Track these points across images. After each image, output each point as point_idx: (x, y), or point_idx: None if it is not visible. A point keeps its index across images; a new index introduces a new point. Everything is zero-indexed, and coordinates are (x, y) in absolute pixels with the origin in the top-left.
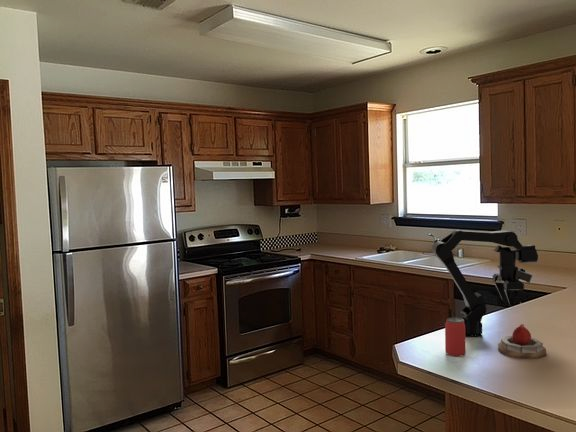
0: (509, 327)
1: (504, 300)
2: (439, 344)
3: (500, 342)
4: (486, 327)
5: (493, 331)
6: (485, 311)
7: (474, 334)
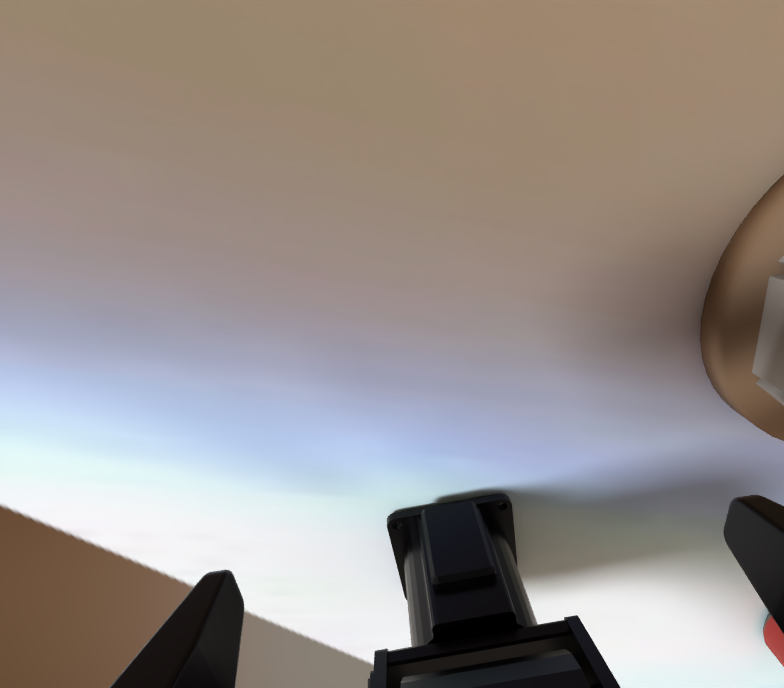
0: (171, 265)
1: (233, 586)
2: (645, 667)
3: (760, 426)
4: (235, 448)
5: (347, 412)
6: (585, 683)
7: (509, 544)
